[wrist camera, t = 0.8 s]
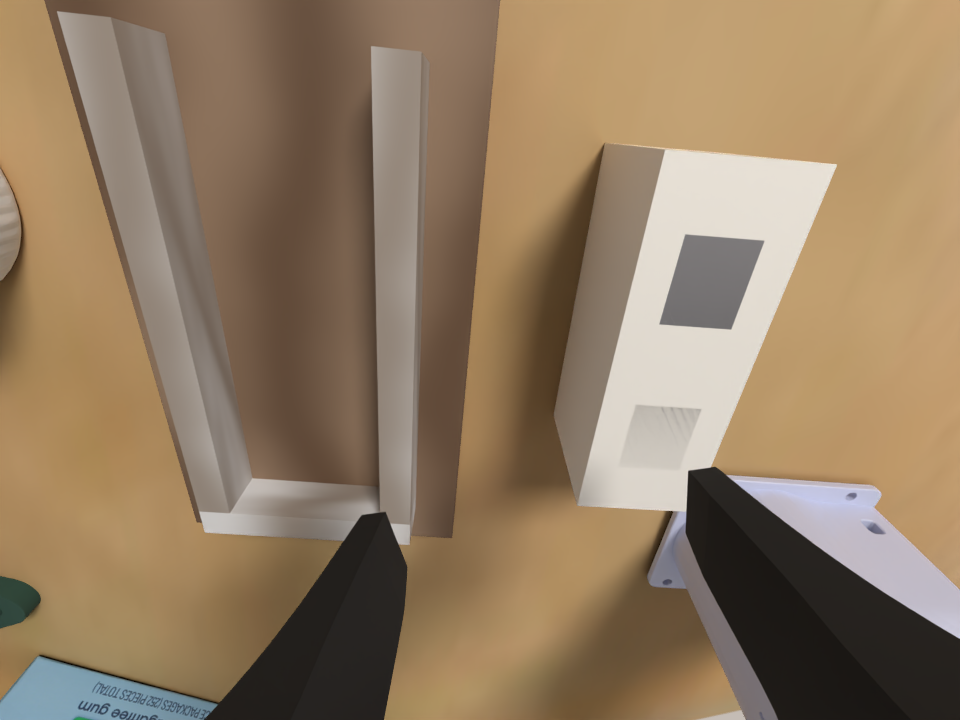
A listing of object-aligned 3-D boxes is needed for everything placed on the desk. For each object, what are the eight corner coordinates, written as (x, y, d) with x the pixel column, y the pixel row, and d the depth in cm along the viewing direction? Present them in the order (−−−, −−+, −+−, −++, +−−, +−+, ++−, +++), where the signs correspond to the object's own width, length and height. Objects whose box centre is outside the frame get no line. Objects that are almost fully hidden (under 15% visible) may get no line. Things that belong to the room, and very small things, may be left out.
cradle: (503, -52, 12) (511, -112, 9) (453, 513, 23) (449, 575, 19) (58, -106, 12) (-93, -190, 9) (213, 498, 22) (170, 559, 19)
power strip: (720, 152, 15) (837, 164, 10) (640, 418, 20) (691, 512, 15) (603, 142, 15) (665, 149, 10) (553, 413, 20) (577, 505, 15)
